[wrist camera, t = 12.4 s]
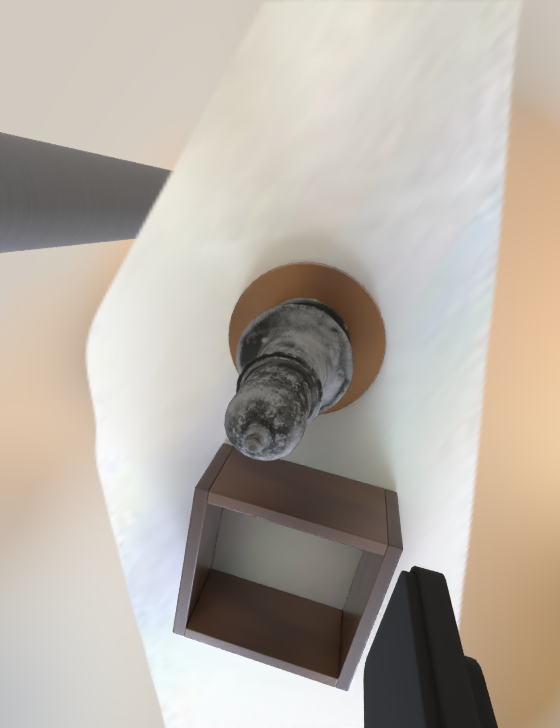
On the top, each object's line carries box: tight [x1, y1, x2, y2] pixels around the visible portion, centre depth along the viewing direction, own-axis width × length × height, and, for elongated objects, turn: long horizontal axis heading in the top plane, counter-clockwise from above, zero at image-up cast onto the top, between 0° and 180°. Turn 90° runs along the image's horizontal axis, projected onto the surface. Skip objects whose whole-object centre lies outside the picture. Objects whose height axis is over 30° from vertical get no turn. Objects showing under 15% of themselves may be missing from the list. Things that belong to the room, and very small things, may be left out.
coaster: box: [229, 262, 385, 415], centre depth 25 cm, size 9×9×1 cm
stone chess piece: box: [224, 297, 354, 461], centre depth 19 cm, size 6×6×12 cm
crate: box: [173, 444, 403, 691], centre depth 28 cm, size 12×12×5 cm
